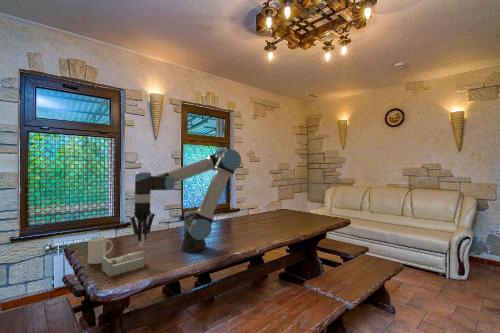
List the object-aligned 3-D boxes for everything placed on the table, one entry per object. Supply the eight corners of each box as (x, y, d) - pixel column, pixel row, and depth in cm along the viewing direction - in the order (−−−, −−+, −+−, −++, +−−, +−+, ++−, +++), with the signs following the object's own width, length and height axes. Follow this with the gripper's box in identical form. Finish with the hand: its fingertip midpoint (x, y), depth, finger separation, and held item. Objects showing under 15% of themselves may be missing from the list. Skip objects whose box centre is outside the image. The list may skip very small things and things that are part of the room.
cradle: (134, 261, 140) (134, 249, 140) (143, 266, 133) (143, 254, 133) (101, 270, 128) (101, 257, 128) (109, 276, 121) (110, 262, 121)
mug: (111, 255, 147) (111, 234, 147) (114, 260, 141) (114, 238, 140) (86, 260, 140) (87, 237, 140) (88, 265, 134) (88, 241, 133)
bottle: (140, 249, 140) (111, 256, 129) (145, 251, 136) (115, 259, 126) (140, 259, 140) (111, 267, 129) (145, 261, 136) (115, 270, 126)
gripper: (151, 199, 145) (150, 242, 145) (126, 202, 135) (126, 248, 135) (157, 201, 140) (157, 245, 140) (133, 204, 130) (132, 251, 130)
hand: (141, 246), depth 138 cm, fingers closed
